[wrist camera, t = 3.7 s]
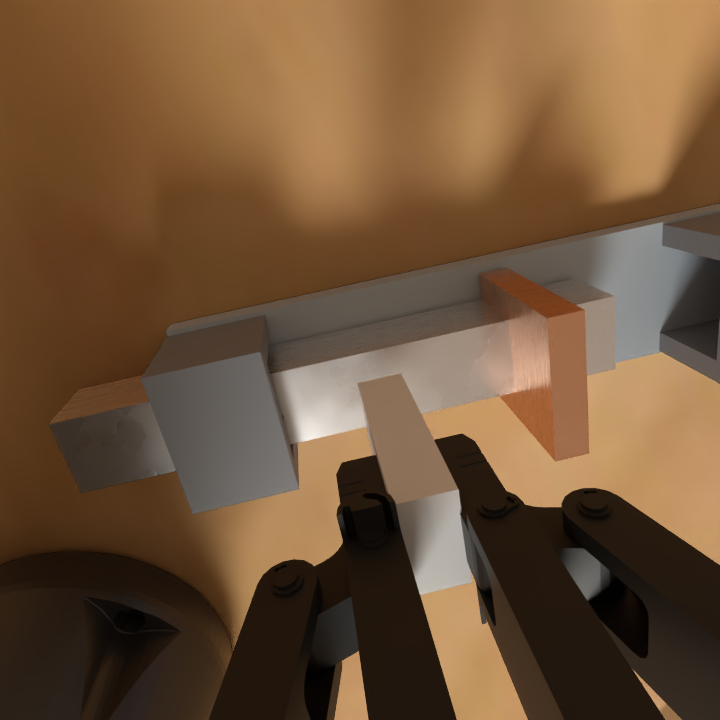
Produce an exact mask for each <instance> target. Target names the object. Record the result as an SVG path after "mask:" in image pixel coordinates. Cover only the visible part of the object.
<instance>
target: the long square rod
mask: <svg viewBox="0 0 720 720" xmlns="http://www.w3.org/2000/svg"><path fill="white" fill-rule="evenodd" d="M479 281H480V291H481V299H480V300H475V301H471V302H466V303H462V304H457V305H453V306H448V307H444V308H439V309H435V310H430V311H426V312H422V313H417V314H413V315H408V316H404V317H399V318H395V319H390V320H386V321H381V322H377V323H372V324H368V325H363V326H359V327H355V328H350V329H346V330H341V331H337V332H332V333H328V334H323V335H319V336H314V337H310V338H305V339H301V340H296V341H292V342H288V343H283V344H279V345H274V346H270V347H269V349H268V360H267V366H268V370H269V373H270V377H271V380H272V384H273V388H274V391H275V395H276V398H277V402H278V405H279V409H280V412H281V416H282V420H283V423H284V427H285V430H286V434H287V437H288V441H289V444H295V443H299V442H303V441H308V440H312V439H316V438H321V437H325V436H329V435H333V434H338V433H342V432H346V431H351V430H355V429H359V428H364V427H366V422H365V418H364V413H363V408H362V403H361V399H360V394H359V389H358V385H357V383H361V382H365V381H369V380H374V379H378V378H383V377H387V376H391V375H396V374H400V373H401V374H402V376H403V378H404V380H405V382H406V384H407V386H408V388H409V390H410V392H411V394H412V396H413V398H414V400H415V402H416V404H417V406H418V408H419V410H420V412H421V414H424V413H428V412H432V411H437V410H441V409H445V408H449V407H454V406H458V405H462V404H467V403H471V402H475V401H480V400H484V399H488V398H492V397H497V396H500V397H501V399H502V400H503V401H504V402H505V403H506V404H507V406H508V407H509V408H510V409H511V410H512V411H513V413H514V414H515V415H516V416H517V417H518V418H519V420H520V421H521V422H522V423H523V424H524V425H525V427H526V428H527V429H528V430H529V431H530V432H531V433H532V435H533V436H534V437H535V438H536V439H537V440H538V442H539V443H540V444H541V445H542V446H543V447H544V449H545V450H546V451H547V452H548V453H549V454H550V456H551V457H552V458H553V459H554V460H555V461H559V460H564V459H568V458H572V457H576V456H580V455H584V454H589V430H588V397H587V375H591V374H596V373H600V372H604V371H608V370H613V369H615V296H613V295H611V294H609V293H607V292H605V291H602V290H600V289H598V288H596V287H593V286H591V285H589V284H587V283H585V282H582V281H580V280H578V279H576V278H573V279H569V280H564V281H560V282H556V283H551V284H547V285H542V286H540V285H538V284H536V283H534V282H533V281H531V280H529V279H527V278H525V277H523V276H521V275H520V274H518V273H516V272H514V271H512V270H510V269H509V268H502V269H498V270H493V271H489V272H484V273H480V274H479ZM141 377H142V375H140V376H136V377H131V378H127V379H122V380H118V381H113V382H109V383H104V384H100V385H95V386H91V387H87V388H82V389H79V390H78V391H77V392H76V393H75V394H74V395H73V397H72V398H71V399H70V400H69V401H68V402H67V403H66V405H65V406H64V407H63V408H62V409H61V410H60V412H59V413H58V414H57V415H56V416H55V417H54V419H53V420H52V421H51V422H50V423H49V427H50V429H51V431H52V433H53V435H54V437H55V439H56V441H57V443H58V445H59V448H60V450H61V452H62V454H63V456H64V458H65V460H66V462H67V464H68V466H69V469H70V471H71V473H72V475H73V477H74V479H75V481H76V483H77V485H78V488H79V490H80V492H81V493H84V492H89V491H93V490H97V489H101V488H106V487H110V486H114V485H119V484H123V483H127V482H132V481H136V480H140V479H144V478H149V477H153V476H157V475H162V474H166V473H170V472H174V471H176V470H175V467H174V464H173V462H172V459H171V457H170V454H169V452H168V449H167V446H166V444H165V441H164V439H163V436H162V433H161V431H160V428H159V426H158V423H157V420H156V418H155V415H154V413H153V410H152V407H151V405H150V402H149V400H148V397H147V394H146V392H145V389H144V387H143V384H142V381H141Z"/></svg>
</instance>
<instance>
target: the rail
mask: <svg viewBox="0 0 720 720" xmlns="http://www.w3.org/2000/svg"><path fill="white" fill-rule="evenodd" d="M502 268H509V269H510V270H512V271H514V272H516V273H518V274H520V275H521V276H523V277H525V278H527V279H529V280H531V281H533V282H534V283H536V284H538V285H540V286H542V285H547V284H551V283H556V282H560V281H564V280H569V279H573V278H576V279H578V280H580V281H582V282H585V283H587V284H589V285H591V286H593V287H596V288H598V289H600V290H602V291H605V292H607V293H609V294H611V295H613V296H615V363H617V362H621V361H625V360H629V359H634V358H638V357H642V356H647V355H651V354H655V353H660V352H663V353H665V354H666V355H668V356H670V357H672V358H674V359H676V360H677V361H679V362H681V363H683V364H685V365H687V366H688V367H690V368H692V369H694V370H696V371H698V372H699V373H701V374H703V375H705V376H707V377H709V378H710V379H712V380H714V381H716V382H718V383H720V203H719V204H715V205H710V206H706V207H701V208H697V209H692V210H687V211H683V212H678V213H674V214H669V215H665V216H660V217H656V218H651V219H647V220H642V221H637V222H633V223H628V224H624V225H619V226H615V227H610V228H606V229H601V230H597V231H592V232H587V233H583V234H578V235H574V236H569V237H565V238H560V239H556V240H551V241H547V242H542V243H537V244H533V245H528V246H524V247H519V248H515V249H510V250H506V251H501V252H497V253H492V254H488V255H483V256H478V257H474V258H469V259H465V260H460V261H456V262H451V263H447V264H442V265H438V266H433V267H428V268H424V269H419V270H415V271H410V272H406V273H401V274H397V275H392V276H388V277H383V278H378V279H374V280H369V281H365V282H360V283H356V284H351V285H347V286H342V287H338V288H333V289H329V290H324V291H319V292H315V293H310V294H306V295H301V296H297V297H292V298H288V299H283V300H279V301H274V302H269V303H265V304H260V305H256V306H251V307H247V308H242V309H238V310H233V311H229V312H224V313H219V314H215V315H210V316H206V317H201V318H197V319H192V320H188V321H183V322H179V323H174V324H170V326H169V328H168V329H167V331H166V334H167V338H166V339H165V341H164V342H163V344H162V346H161V347H160V349H159V350H158V352H157V353H156V355H155V357H154V358H153V360H152V361H151V363H150V364H149V366H148V368H147V369H146V371H145V372H144V374H143V375H142V377H141V381H142V384H143V387H144V389H145V392H146V394H147V397H148V400H149V402H150V405H151V407H152V410H153V413H154V415H155V418H156V420H157V423H158V426H159V428H160V431H161V433H162V436H163V439H164V441H165V444H166V446H167V449H168V452H169V454H170V457H171V459H172V462H173V464H174V467H175V470H176V472H177V475H178V477H179V480H180V483H181V485H182V488H183V490H184V493H185V496H186V498H187V501H188V503H189V506H190V509H191V511H192V514H196V513H200V512H204V511H209V510H213V509H217V508H221V507H226V506H230V505H234V504H238V503H242V502H247V501H251V500H255V499H259V498H264V497H268V496H272V495H276V494H280V493H285V492H289V491H293V490H297V489H299V474H298V446H297V443H295V444H289V441H288V437H287V434H286V430H285V427H284V423H283V420H282V416H281V412H280V409H279V405H278V402H277V398H276V395H275V391H274V388H273V384H272V380H271V377H270V373H269V370H268V366H267V360H268V349H269V347H270V346H274V345H279V344H283V343H288V342H292V341H296V340H301V339H305V338H310V337H314V336H319V335H323V334H328V333H332V332H337V331H341V330H346V329H350V328H355V327H359V326H363V325H368V324H372V323H377V322H381V321H386V320H390V319H395V318H399V317H404V316H408V315H413V314H417V313H422V312H426V311H430V310H435V309H439V308H444V307H448V306H453V305H457V304H462V303H466V302H471V301H475V300H480V299H481V291H480V281H479V274H480V273H484V272H489V271H493V270H498V269H502Z"/></svg>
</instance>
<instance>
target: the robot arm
mask: <svg viewBox="0 0 720 720" xmlns="http://www.w3.org/2000/svg"><path fill="white" fill-rule="evenodd" d="M357 385H358V389H359V394H360V399H361V403H362V408H363V413H364V418H365V422H366V427H367V432H368V436H369V441H370V446H371V450H372V455H373V456H369V457H364V458H360V459H356V460H351V461H347V462H343V463H342V464H341V466H340V468H339V470H338V472H337V474H336V476H337V483H338V490H339V497H340V505H339V507H338V510H337V519H338V523H339V527H340V531H341V535H342V539H343V543H342V545H341V547H340V548H339V550H338V551H337V552H336V553H335V554H334V555H333V556H332V557H330V558H329V559H327V560H326V561H324V562H322V563H320V564H318V565H316V566H313V565H312V564H310V563H308V562H306V561H305V560H295V559H293V560H289V561H284V562H281V563H279V564H277V565H275V566H273V567H271V568H270V569H269V570H268V571H267V572H266V573H265V574H264V575H263V576H262V578H261V579H260V581H259V583H258V584H257V587H256V590H255V593H254V596H253V598H252V601H251V604H250V607H249V609H248V612H247V615H246V618H245V620H244V623H243V626H242V629H241V631H240V634H239V637H238V640H237V642H236V645H235V648H234V651H233V653H232V648H231V644H230V639H229V636H228V633H227V631H226V629H225V627H224V624H223V623H222V621H221V619H220V617H219V616H218V615H217V613H216V612H215V610H214V609H213V608H212V607H211V605H210V604H209V603H208V602H207V601H206V600H205V599H204V598H203V597H202V596H201V595H200V594H199V593H197V592H196V591H195V590H194V589H193V588H191V587H190V586H189V585H187V584H186V583H184V582H183V581H181V580H180V579H178V578H176V577H174V576H173V575H171V574H169V573H167V572H165V571H163V570H161V569H158V568H156V567H153V566H151V565H148V564H146V563H142V562H139V561H136V560H133V559H129V558H125V557H120V556H115V555H109V554H102V553H92V552H57V553H47V554H40V555H34V556H29V557H24V558H21V559H17V560H13V561H10V562H7V563H4V564H2V565H0V720H334V717H335V711H336V704H337V698H338V691H339V685H340V678H341V672H342V660H344V659H346V658H347V657H349V656H351V655H352V654H354V653H356V652H358V651H359V655H360V662H361V669H362V676H363V683H364V690H365V697H366V704H367V711H368V719H369V720H457V719H456V716H455V712H454V709H453V706H452V702H451V699H450V695H449V692H448V689H447V685H446V682H445V678H444V675H443V672H442V668H441V665H440V661H439V658H438V655H437V651H436V648H435V644H434V641H433V638H432V634H431V631H430V627H429V624H428V621H427V617H426V614H425V611H424V607H423V604H422V600H421V597H420V595H422V594H426V593H431V592H435V591H439V590H443V589H447V588H451V587H455V586H459V585H463V584H467V583H472V580H471V573H470V569H471V572H472V574H473V576H474V579H475V581H476V586H477V593H478V600H479V607H480V614H481V621H482V624H485V623H487V621H488V624H489V626H490V629H491V631H492V634H493V636H494V638H495V641H496V643H497V646H498V648H499V651H500V653H501V655H502V658H503V660H504V663H505V665H506V667H507V670H508V672H509V675H510V677H511V680H512V682H513V684H514V687H515V689H516V692H517V694H518V696H519V699H520V701H521V704H522V706H523V709H524V711H525V713H526V716H527V718H528V720H665V719H664V718H663V716H662V714H661V713H660V711H659V710H658V708H657V706H656V705H655V703H654V702H653V700H652V699H651V697H650V696H649V694H648V693H647V691H646V690H645V688H644V687H643V685H642V683H641V682H640V680H639V679H638V677H637V676H636V674H635V673H634V671H635V672H636V673H637V674H638V675H639V676H640V677H641V678H642V679H643V680H644V681H645V682H646V683H647V684H648V685H649V686H650V687H651V688H652V689H653V690H654V691H655V692H656V693H657V694H658V695H659V696H660V697H661V698H662V699H663V700H664V701H665V703H666V704H667V705H668V706H670V708H671V709H672V710H673V711H674V712H675V713H676V714H677V715H678V716H679V717H680V718H681V719H682V720H720V565H719V564H717V563H716V562H714V561H713V560H711V559H710V558H708V557H707V556H705V555H704V554H703V553H701V552H700V551H698V550H697V549H695V548H694V547H692V546H691V545H689V544H688V543H686V542H685V541H684V540H682V539H681V538H679V537H678V536H676V535H675V534H673V533H672V532H670V531H669V530H667V529H666V528H664V527H663V526H662V525H660V524H659V523H657V522H656V521H654V520H653V519H651V518H650V517H648V516H647V515H645V514H644V513H643V512H641V511H640V510H638V509H637V508H635V507H634V506H632V505H631V504H629V503H628V502H626V501H625V500H623V499H622V498H621V497H619V496H617V495H615V494H613V493H611V492H609V491H606V490H602V489H597V488H583V489H579V490H575V491H572V492H571V493H569V494H568V495H566V496H565V498H564V500H563V502H562V507H533V506H528V505H525V504H524V503H523V501H522V500H521V499H520V498H519V497H518V496H516V495H514V494H512V493H510V492H507V491H506V490H505V488H504V487H503V485H502V484H501V482H500V480H499V479H498V477H497V476H496V474H495V473H494V471H493V469H492V468H491V466H490V465H489V463H488V462H487V460H486V458H485V457H484V455H483V453H481V450H480V449H479V447H478V446H477V444H476V442H475V441H474V440H472V439H470V438H469V437H467V436H465V435H464V434H458V435H453V436H449V437H445V438H441V439H436V440H434V439H433V437H432V435H431V433H430V431H429V429H428V427H427V425H426V423H425V421H424V419H423V417H422V414H421V412H420V410H419V408H418V406H417V404H416V402H415V400H414V398H413V396H412V394H411V392H410V390H409V388H408V386H407V384H406V382H405V380H404V378H403V376H402V374H401V373H400V374H396V375H391V376H387V377H383V378H378V379H374V380H369V381H365V382H361V383H357ZM486 619H487V621H486ZM632 669H633V670H634V671H633V670H632Z"/></svg>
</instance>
